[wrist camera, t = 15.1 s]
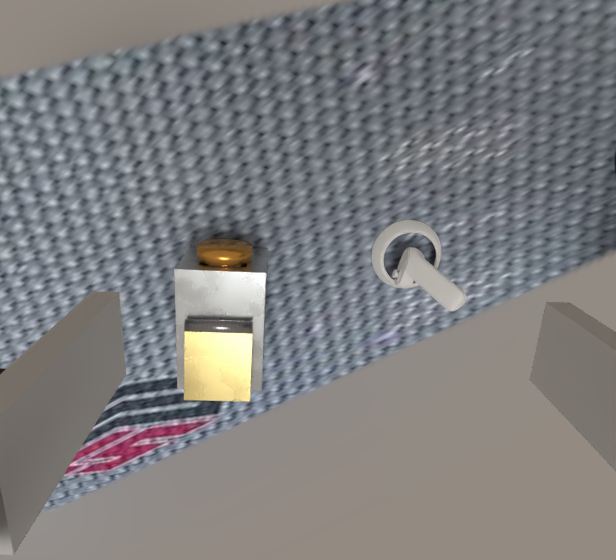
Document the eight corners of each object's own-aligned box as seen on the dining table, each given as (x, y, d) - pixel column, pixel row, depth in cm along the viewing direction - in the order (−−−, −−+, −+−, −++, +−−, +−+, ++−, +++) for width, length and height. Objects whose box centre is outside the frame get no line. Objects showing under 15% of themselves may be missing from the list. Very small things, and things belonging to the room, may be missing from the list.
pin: (253, 240, 48) (251, 254, 43) (250, 350, 52) (247, 374, 47) (201, 237, 48) (192, 251, 43) (201, 348, 51) (193, 372, 47)
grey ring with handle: (475, 332, 50) (433, 344, 46) (398, 269, 57) (356, 274, 53) (511, 273, 46) (469, 279, 42) (424, 213, 54) (381, 213, 49)
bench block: (267, 248, 51) (265, 273, 43) (263, 350, 55) (261, 390, 47) (191, 244, 50) (174, 269, 42) (192, 348, 54) (177, 388, 46)
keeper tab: (253, 319, 44) (252, 323, 43) (250, 396, 45) (249, 402, 44) (186, 317, 44) (184, 320, 42) (186, 395, 45) (183, 401, 44)
